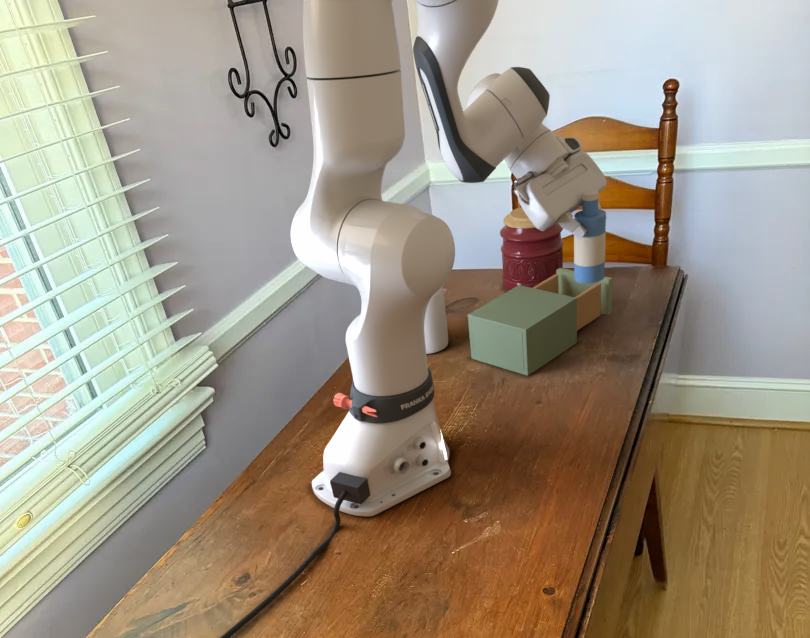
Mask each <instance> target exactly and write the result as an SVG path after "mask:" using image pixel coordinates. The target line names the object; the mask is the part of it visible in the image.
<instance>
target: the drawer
mask: <svg viewBox="0 0 810 638" xmlns="http://www.w3.org/2000/svg"><path fill="white" fill-rule="evenodd" d="M533 288H534V289H539V290H543V291H548V292H552V293H557V294H562V295H566V296H571V297H575V298H577V331H579V330H581V329H582V328H584V327H585V326H586V325H588V324H589V323H591V322H592V321H594V320H595V319H597V318H598V317H600V316H601V314H602V315H608V316H609V315H610V314H611V313H612V307H613V306H612V305H613V304H612V303H613V302H612V301H613V277H609V276H605V275H604V278H603V279H602V280H601V281H599V282H595V283H579V282H577V281H575V280H574V269H568V268H564V267H563V268H559V269H557V270H556V274H555V275H553V276H551V277H550V278H548V279H546V280H545V281H543V282H541V283H540V284H538V285H536V286H534V287H533Z"/></svg>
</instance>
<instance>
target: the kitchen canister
mask: <svg viewBox="0 0 810 638" xmlns="http://www.w3.org/2000/svg"><path fill="white" fill-rule="evenodd" d="M503 224H504V226H503V227H501V229H500V231H499V237H501V238H502V245H501V246H500V252H501V264H502V276H501V278H502V283H503V288H504V290H505V291H506V292H508V291H509V290H511V289H513V288H515V287H516V286H518V285H521V286H525V287H530V288H533V287H534V286H536V285H538V284H540V283H541V282H543V281H545V280H546V279H548V278H550V277H551V276H553V275H555V274H556V270H557V269H559V268H563V269H564V257H563V256H564V252H563V251H564V249H563V248H564V247H563V246H564V240H563V239H562V231H563V230H564V228H562V227H561V226H560V225H559V223H558V222H557V223H555V224H554V225H552V226H551V227H549V228H548V229H546V230H545V231H541V230H539V229H537V228H536V227H535V226H534V225H533V224H532V222H531V221H530V219H529V218H528V216H527V215H526V213H525V212H524V210H523V209H522V207H521V206H519V207H517V208H514V209H512V210H511V211H510V212H509V213H508V214H507V215H506V216H505V217H504V218H503Z"/></svg>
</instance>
